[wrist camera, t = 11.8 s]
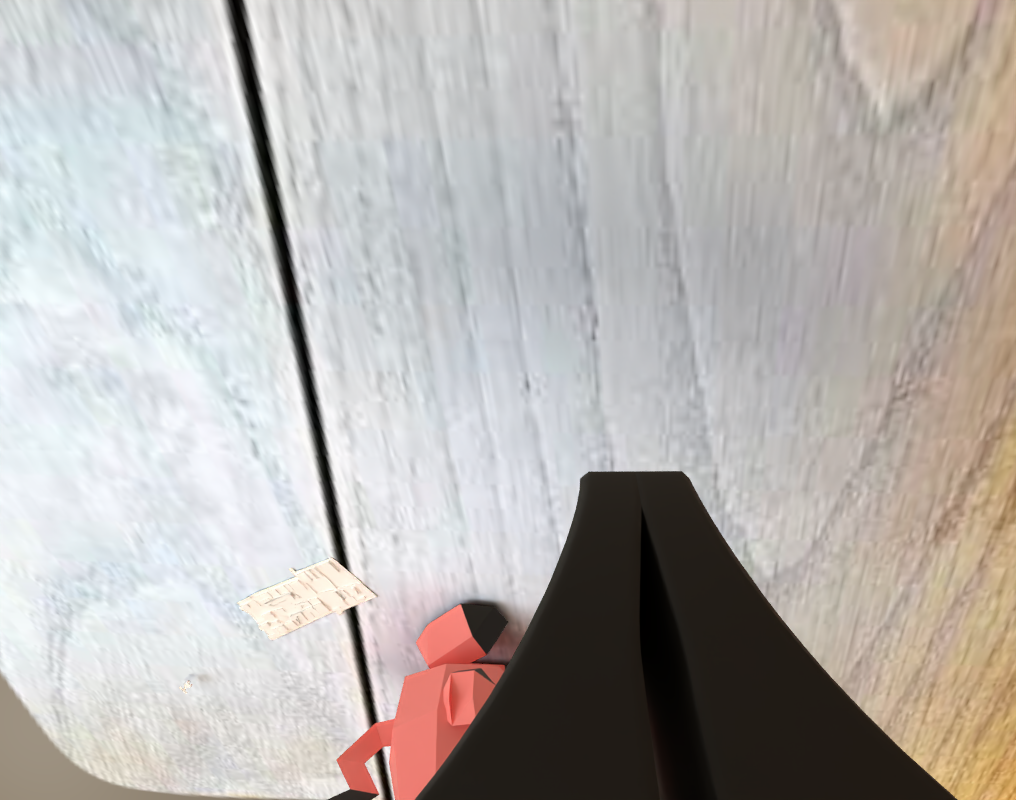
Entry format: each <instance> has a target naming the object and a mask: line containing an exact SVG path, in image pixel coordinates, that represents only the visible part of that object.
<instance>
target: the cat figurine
mask: <svg viewBox="0 0 1016 800" xmlns="http://www.w3.org/2000/svg"><path fill="white" fill-rule="evenodd" d="M507 623H508V621H507V620H506V619H505V618H504V617H503V616H502V615H501V614H500V613H499V611H498V610H497V609H496V608H495V607H494V606H482V605H469V604H459V605H458V606H456V607H455V608H453V609H451V610H450V611H448V612H447V613H445V614H444V615H442V616H440V617H439V618H437V619H436V620H434V621H432V622H431V623H429V624H428V625H427V626H426V628H425V629H424V631H423V632H422V634H421V635H420V637H419V639H418V640H417V642H416V644H417V646H418V648H419V650H420V652H421V653H422V655H423V657H424V659H425V661H426V663H427V665H428V667H429V668H430V669H428V670H425V671H421V672H418V673H415V674H412V675H409V676H405V679H404V684H403V688H402V692H401V696H400V700H399V704H398V709H397V713H396V717H395V719H392V720H388V721H384V722H379V723H375V724H374V725H373V726H372V727H371V728H370V729H369V730H368V731H367V732H366V733H365V734H363V735H362V736H361V737H360V738H359V739H358V740H357V741H356V742H355V743H354V744H353V745H352V746H351V747H350V748H348V749H347V750H346V751H345V752H344V753H343V754H342V755H341V756H340V757H339V758H338V759H337V762H338V764H339V766H340V768H341V771H342V773H343V775H344V777H345V779H346V781H347V783H348V785H349V787H350V790H348V791H345V792H343V793H341V794H339V795H337V796H334V797H332V798H330V799H328V800H372V799H373V798H375V797H376V796H378V795H379V793H378V791H377V789H376V787H375V785H374V783H373V781H372V778H371V776H370V774H369V772H368V770H367V768H366V766H365V764H364V763H365V762H366V761H367V760H369V759H370V758H371V757H372V756H373V755H374V754H375V753H376V752H378V751H379V750H380V749H381V748H382V747H385V746H391V750H390V760H389V765H390V771H391V777H392V783H393V790H394V796H395V800H415V799H416V797H417V796H418V795H419V793H420V792H421V791H422V790H423V788H424V787H425V786H426V785H427V783H428V782H429V781H430V780H431V778H432V777H433V776H434V775H435V773H436V772H437V771H438V770H439V768H440V767H441V765H442V764H443V763H444V761H445V760H446V759H447V757H448V756H449V755H450V753H451V752H452V750H453V749H454V748H455V746H456V745H457V743H458V742H459V741H460V739H461V738H462V736H463V735H464V733H465V732H466V730H467V729H468V727H469V726H470V724H471V723H472V721H473V720H474V718H475V717H476V715H477V714H478V712H479V711H480V709H481V708H482V706H483V705H484V703H485V702H486V700H487V699H488V697H489V696H490V694H491V692H492V691H493V689H494V687H495V686H496V684H497V682H498V681H499V679H500V677H501V676H502V674H503V673H504V671H505V669H506V667H507V666H506V665H495V664H475V663H472V662H474V661H476V660H478V659H480V658H482V657H484V656H486V655H487V654H488V652H489V651H490V649H491V648H492V646H493V645H494V644H495V642H496V641H497V639H498V637H499V636H500V634H501V633H502V631H503V630H504V628H505V626H506V625H507Z"/></svg>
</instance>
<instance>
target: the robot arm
mask: <svg viewBox="0 0 1016 800" xmlns="http://www.w3.org/2000/svg"><path fill="white" fill-rule="evenodd" d="M415 800H957V799H956V798H955V797H954V796H953V795H952V794H950V793H949V792H948V791H947V790H946V789H945V788H944V787H943V786H942V785H940V784H939V783H938V782H937V781H936V780H935V779H934V778H933V777H932V776H930V775H929V774H928V773H927V772H926V771H925V770H924V769H923V768H921V767H920V766H919V765H918V764H917V763H916V762H915V761H914V760H913V759H911V758H910V757H909V756H908V755H907V754H906V753H905V752H904V751H903V750H902V749H901V748H900V747H898V746H897V745H896V744H895V743H894V742H893V741H892V740H891V739H890V738H889V737H888V736H887V735H886V734H885V733H884V732H883V731H882V730H881V729H880V728H879V727H878V726H877V725H876V724H875V723H874V722H873V721H872V720H871V719H870V718H869V717H868V716H867V715H866V714H865V713H864V712H863V711H862V710H861V709H860V708H859V707H858V705H857V704H856V703H855V702H854V701H853V700H852V699H851V698H850V697H849V696H848V695H847V694H846V693H845V692H844V691H843V689H842V688H841V687H840V686H839V685H838V684H837V683H836V682H835V681H834V680H833V679H832V678H831V677H830V675H829V674H828V673H827V672H826V671H825V670H824V669H823V668H822V666H821V665H820V664H819V663H818V662H817V661H816V660H815V658H814V657H813V656H812V655H811V654H810V653H809V651H808V650H807V649H806V648H805V647H804V646H803V644H802V643H801V642H800V641H799V639H798V638H797V637H796V636H795V635H794V633H793V632H792V631H791V630H790V628H789V627H788V626H787V625H786V623H785V622H784V621H783V620H782V619H781V617H780V616H779V615H778V614H777V612H776V611H775V610H774V608H773V607H772V606H771V604H770V603H769V602H768V600H767V599H766V598H765V597H764V595H763V594H762V592H761V591H760V590H759V588H758V587H757V585H756V584H755V583H754V581H753V580H752V578H751V577H750V576H749V574H748V573H747V571H746V570H745V569H744V567H743V566H742V564H741V563H740V562H739V560H738V559H737V557H736V556H735V554H734V553H733V551H732V550H731V548H730V547H729V545H728V544H727V542H726V541H725V539H724V538H723V536H722V535H721V533H720V531H719V530H718V528H717V527H716V525H715V524H714V522H713V520H712V519H711V517H710V515H709V514H708V512H707V510H706V509H705V507H704V505H703V503H702V502H701V500H700V498H699V496H698V494H697V492H696V491H695V489H694V487H693V485H692V483H691V481H690V479H689V478H688V477H687V476H686V475H685V474H684V473H683V472H682V471H655V472H588V473H587V474H585V475H584V476H583V477H582V478H580V491H579V497H578V502H577V506H576V510H575V514H574V518H573V521H572V524H571V528H570V531H569V534H568V537H567V540H566V543H565V545H564V548H563V550H562V553H561V556H560V558H559V561H558V563H557V566H556V568H555V571H554V573H553V576H552V578H551V581H550V583H549V585H548V588H547V590H546V592H545V594H544V596H543V598H542V600H541V602H540V604H539V606H538V608H537V610H536V612H535V615H534V617H533V619H532V621H531V623H530V625H529V627H528V629H527V631H526V633H525V635H524V637H523V639H522V641H521V642H520V644H519V646H518V648H517V650H516V652H515V653H514V655H513V657H512V659H511V660H510V662H509V664H508V666H507V667H506V669H505V671H504V673H503V674H502V676H501V677H500V679H499V681H498V682H497V684H496V686H495V687H494V689H493V691H492V692H491V694H490V696H489V697H488V699H487V700H486V702H485V703H484V705H483V706H482V708H481V709H480V711H479V712H478V714H477V715H476V717H475V718H474V720H473V721H472V723H471V724H470V726H469V727H468V729H467V730H466V732H465V733H464V735H463V736H462V738H461V739H460V741H459V742H458V743H457V745H456V746H455V748H454V749H453V750H452V752H451V753H450V755H449V756H448V757H447V759H446V760H445V761H444V763H443V764H442V765H441V767H440V768H439V770H438V771H437V772H436V773H435V775H434V776H433V777H432V778H431V780H430V781H429V782H428V783H427V785H426V786H425V787H424V788H423V790H422V791H421V792H420V793H419V795H418V796H417V797H416V799H415Z"/></svg>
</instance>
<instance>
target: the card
mask: <svg viewBox="0 0 1016 800" xmlns="http://www.w3.org/2000/svg"><path fill="white" fill-rule="evenodd" d="M289 570H290V571H291V572H292V573H293V574H294V576H295V577H294V578H292V579H289V580H287V581H284V582H282V583H279V584H277V585H274V586H272V587H269V588H267V589H264V590H262V591H259V592H257V593H255V594H253V595H251V596H249V597H247V598H245V599H243V600H241V601H240V602H238V603H237V604H239V605H240V609H241V610H242V611H245V612H246V613H249V614H250V615H251V616H252V617H253V618H254V620H255V621H256V622H257V624H259V628H260V629H261V631H262V630H264V631H265V632H266V634H267V635H268V637H269V638H270V639H271V640H274V639H277V638H279V637H281V636H283V635H285V634H287V633H289V632H291V631H293V630H296V629H298V628H300V627H302V626H304V625H306V624H308V623H310V622H312V621H315V620H317V619H319V618H321V617H323V616H325V615H327V614H329V613H332V612H336V613H337V614H339V615H341V614H342V611H343V610H345V609H348V608H350V607H353V606H355V605H358V604H360V603H362V602H365V601H367V600H370V599H372V598H375V597H377V596H376V595H375V594H374V593H372V592H371V591H370V590H369V589H368V588H367V587H365V586H364V585H363V584H362V583H361V582H360V581H359V580H358V579H357V578H356V577H355V576H353V575H352V574H351V573H350V572H349V571H347V570H346V569H345V568H344V567H343V566H342V565H340V564H339V563H338V562H337V561H336V560H334V559H333V558H330V559H327V560H324V561H322V562H319V563H317V564H314V565H312V566H309V567H306V568H304V569H301V570H299V571H296V572H295V571H294V570H293V569H292V568H291V569H289ZM189 683H190V681H189V680H188V682H187V684H185V683H184V684H185V685H184V686H185V687H184V689H183V688H182V687H179V688H180V689H181V690H182V691H183V692H184V693H185V694H186V693H187V692H186V691H185V690H186V688H189V687H191V686H192V684H191V685H190V684H189Z"/></svg>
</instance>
